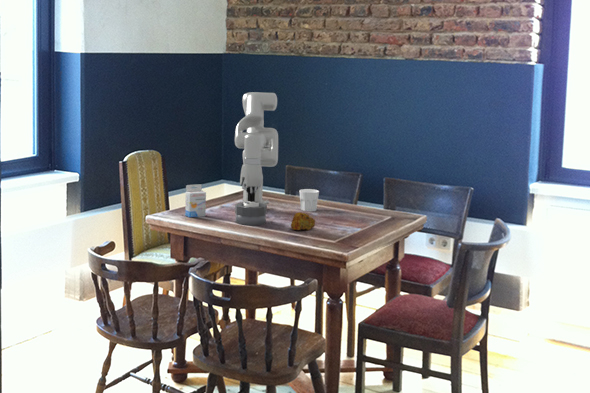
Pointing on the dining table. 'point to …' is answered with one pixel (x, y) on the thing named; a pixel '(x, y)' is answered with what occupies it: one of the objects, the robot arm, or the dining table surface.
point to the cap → (251, 204)
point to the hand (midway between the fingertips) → (251, 201)
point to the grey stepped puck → (250, 214)
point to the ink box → (195, 201)
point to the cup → (308, 199)
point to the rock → (302, 222)
